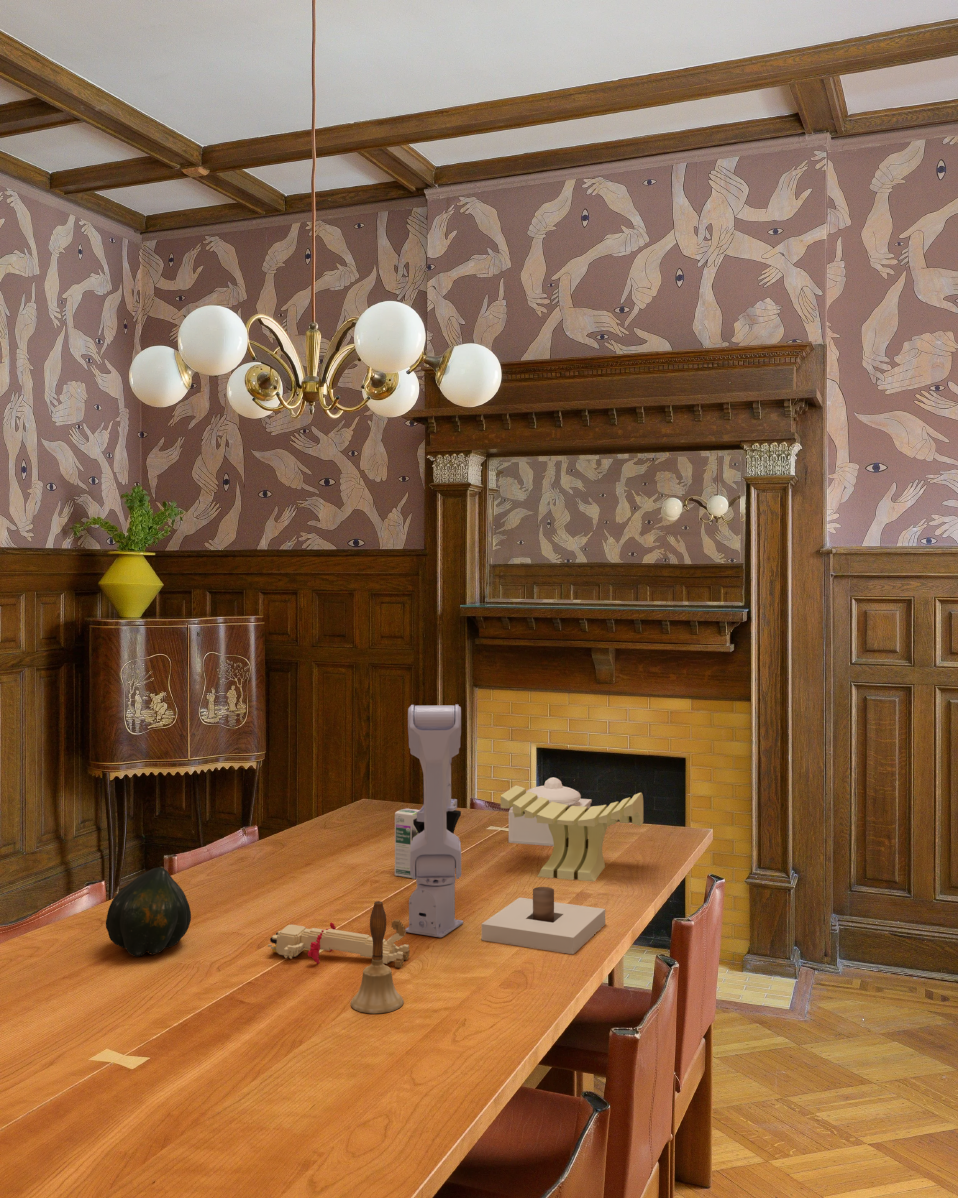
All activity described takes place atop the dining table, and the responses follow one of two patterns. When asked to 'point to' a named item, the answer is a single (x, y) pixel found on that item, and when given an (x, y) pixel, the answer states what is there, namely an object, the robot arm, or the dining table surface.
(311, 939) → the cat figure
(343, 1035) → the dining table surface
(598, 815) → the slatted curved stool
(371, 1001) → the hand bell
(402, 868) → the syrup box
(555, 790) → the butter dish
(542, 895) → the peg
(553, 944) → the socket board
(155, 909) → the squash
